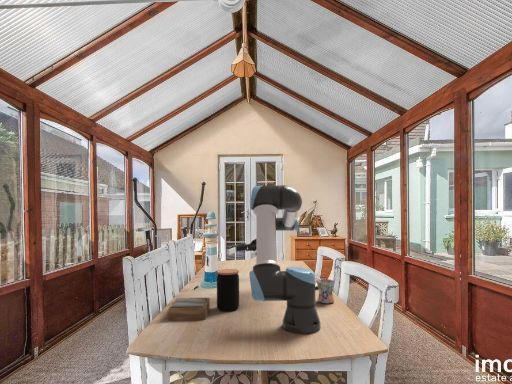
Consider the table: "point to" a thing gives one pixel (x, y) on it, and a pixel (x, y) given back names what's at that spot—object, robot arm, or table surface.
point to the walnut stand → (189, 309)
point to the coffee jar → (227, 290)
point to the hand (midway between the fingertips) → (240, 254)
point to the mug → (325, 290)
